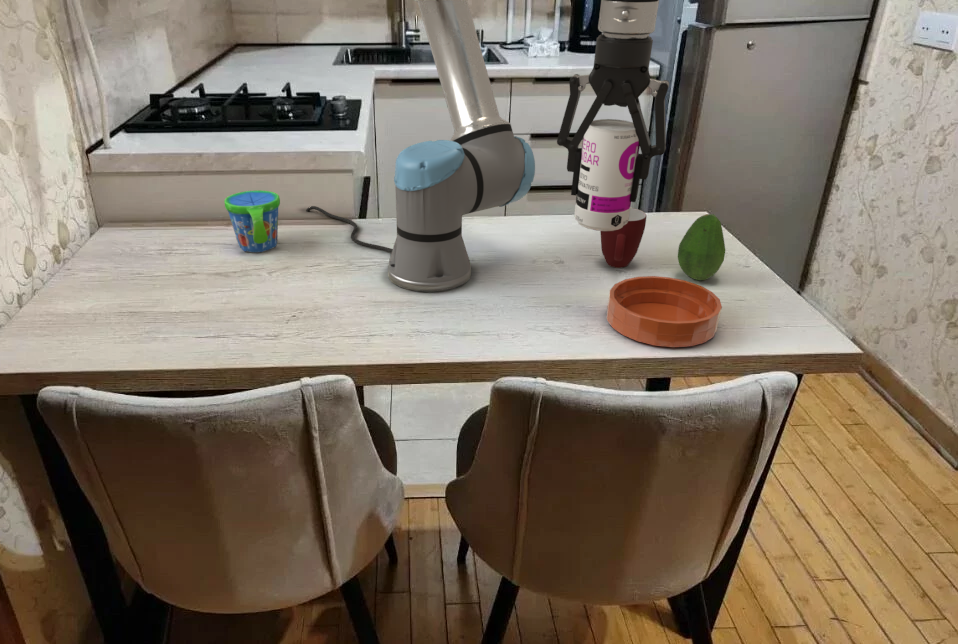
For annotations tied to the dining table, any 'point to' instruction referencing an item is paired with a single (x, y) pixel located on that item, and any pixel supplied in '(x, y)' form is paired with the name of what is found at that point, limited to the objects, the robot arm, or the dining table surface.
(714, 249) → the avocado
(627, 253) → the mug
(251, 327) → the dining table surface
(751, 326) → the dining table surface
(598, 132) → the supplement can
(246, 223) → the snack cup
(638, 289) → the bowl
